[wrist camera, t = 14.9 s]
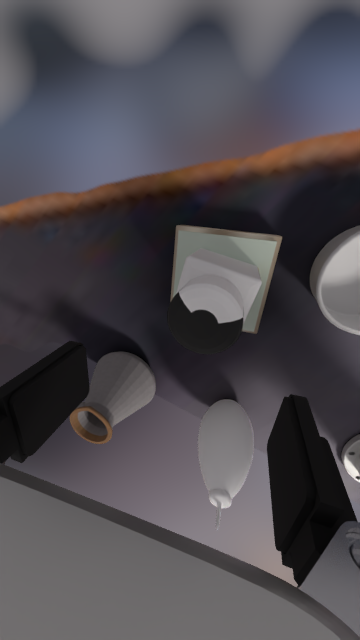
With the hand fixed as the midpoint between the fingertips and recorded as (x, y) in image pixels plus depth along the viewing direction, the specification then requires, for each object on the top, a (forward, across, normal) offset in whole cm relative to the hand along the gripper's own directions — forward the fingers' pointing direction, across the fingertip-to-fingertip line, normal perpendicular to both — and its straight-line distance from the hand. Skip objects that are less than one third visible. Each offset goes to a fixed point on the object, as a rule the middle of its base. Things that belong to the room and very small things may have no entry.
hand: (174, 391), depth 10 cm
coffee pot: (+24, +19, +20) cm, 36 cm away
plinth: (+23, 0, 0) cm, 23 cm away
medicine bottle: (+20, 0, 0) cm, 20 cm away
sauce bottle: (+24, -5, +22) cm, 33 cm away
